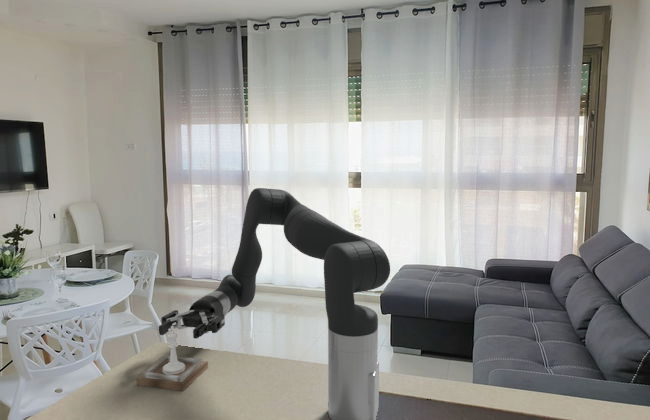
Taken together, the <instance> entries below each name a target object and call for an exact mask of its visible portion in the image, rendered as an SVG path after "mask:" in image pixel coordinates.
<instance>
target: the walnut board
mask: <svg viewBox="0 0 650 420" xmlns="http://www.w3.org/2000/svg"><path fill="white" fill-rule="evenodd" d="M177 360H178V361H179V362H182V363H184V364H185V367H186V368H185V370H184V371H183V372H181V373H178V374H173V375H169V374H164V373H163V372H162V370H163V366H164V365H166V364H168V363H169V362H170V355H164V356H163V357H162V358H161V359H159V360H158V361H156V362H155V363H154V364H152V365H151V366H150V367H148V368H147V369H146V370H145V371H143V372H142V373H141V375H139V376H137V378H136V386H140V387H141V386H142V387H147V388H149V387H150V388H157V389H165V390H171V391H180V392H184V391H185V390H186V389H187V388H188V387H190V385H191V384H193V383H194V381H196V380H197V379H198V378H199V377H200V376H201V375H203V373H205V371H206V370H208V368H209V361H206V360H204V359H201V358H192V357H186V356H185V357H184V356H177Z"/></svg>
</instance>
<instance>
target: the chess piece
mask: <svg viewBox="0 0 650 420" xmlns="http://www.w3.org/2000/svg"><path fill="white" fill-rule="evenodd" d="M168 331H169V332H170V333H169V334H168V335H167V338H168V341H169V344H168V345H167V347H168V348H170V355H169V356H170V362H169V363H168V364H166V365H164V366H163V370H162V372H163V373H164V374H169V375H173V374H178V373H181V372H183V371H184V370H185V368H186V367H185V364H184V363H182V362H179V361H178V360H177V357H178V356H177V349H176V348H177V347H178V346H179V344H178V343H177V342H176V341H177V338H178V333H176V332H177V328H175V329H174V326H171V329H168Z"/></svg>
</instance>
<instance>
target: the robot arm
mask: <svg viewBox="0 0 650 420" xmlns="http://www.w3.org/2000/svg"><path fill="white" fill-rule="evenodd" d="M247 198H248V199H247V203H246V206H245V210H244V211H245V212H244V217H243V223H242V230H241V236H240V241H239V247H238V250H237V253H236V256H235V258H234V262H233V265H232V268H231V274H227V275H226V276H224V278H223V279H222V280H221V282H220V284H219V286H218V287H217V288H216V289H215V290H214V291H212V292H209V293H207V294H205V295H203V296H202V297H201V298H199V299H197V300H196V301H194V302H193V303H192V304H191V305H190V306H189V309H188V310H187V311H185V312H181V313H179V310H176V309H175V310H173V311H170V312H168V313H167V314H165V315H164V316H161V318H160V319H161V320H160V321H161V324H159V326H158V334H159V336H164V335H165V334H167V333H168V332H170V331H168V329H171V326H174V329H178V330H183V329H187V328H189V329H190V328H193V331H192V334H193V335H192V337H193V339H199V338H200V337H202V336H204V334H209V332H211V333H212V334H216V333H218V332H219V331H220V330H221V329H222V328H223V327H224V326H225V325H226V319H225V317H226V316H227V315H228V313H230V312H231V311H232V310H234V309H235V308H236V306H237V307H240V308H245V307H248V306H250V304H252V302H253V300H254V298H255V296H256V285H257V284H256V283H257V282H256V280H257V273H258V272H259V269H260V267H261V264H262V260H263V249H262V247H261V244H260V241H259V239H258V236H257V229H258V227H259V225H271V226H272V225H273V226H274V225H275V226H283V234H284V237H285V239H286V240H287V242H288V243H289V244H290V245H291V246H292V247H293V248H295V249H296V250H297V251H298V252H299V253H302V254H303V255H306V256H308V257H310V258H313V259H318V260H322V261H323V280H324V281H323V282H324V294H325V296H324V299H325V311H326V316H327V329H328V330H327V332H328V334H327V336H328V337H327V344H328V345H327V349H328V350H327V355H328V356H327V362H328V363H327V365H328V366H327V374H328V375H327V377H328V379H327V383H328V384H327V386H328V387H327V393H328V394H327V395H328V397H327V398H328V399H327V401H328V402H327V407H328V408H327V409H328V417H329V419H331V420H377V417H378V413H379V409H378V408H379V403H380V402H379V401H380V399H379V397H380V395H379V393H380V386H379V385H380V363H379V361H378V345H379V343H378V342H379V341H378V339H379V338H378V336H379V335H378V334H379V328H378V327H379V318H378V314H377V312H376V311H375V310H374V309H372V308H370V307H368V306H365V305H361V304H356V303H355V293H362V292H363V293H364V292H367V291H373V290H375V289H378V288H380V287H382V286H383V285H385V284H386V282H387V281H388V279H389V277H390V274H391V264H390V260H389V258H388V256H387V253H386V252H385V250H384V249H383V248H382V247H381V245H379V244H378V243H377V242H375V241H374V240H371V239H369V238H366V237H363V236H361V235H358V234H356V233H353V232H351V231H348V230H347V229H345V228H344V227H342V226H340V225H339V224H338V223H335V222H333V221H331V220H330V219H328V218H327V217H326V216H324V215H322V214H320V213H319V212H317V211H315V210H313V209H311V208H310V207H308V206H306V205H304V204H302V203H301V202H300V201H299V200H298V199H297V198H295V197H294V196H293V195H292V194H291V193H289V192H288V191H286V190H283V189H275V188H265V187H257V188H254V189H253V190H252V191H250V193H249V196H248V197H247ZM181 320H182V322H181ZM181 323H182V324H181ZM377 412H378V413H377ZM376 416H377V417H376Z"/></svg>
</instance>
